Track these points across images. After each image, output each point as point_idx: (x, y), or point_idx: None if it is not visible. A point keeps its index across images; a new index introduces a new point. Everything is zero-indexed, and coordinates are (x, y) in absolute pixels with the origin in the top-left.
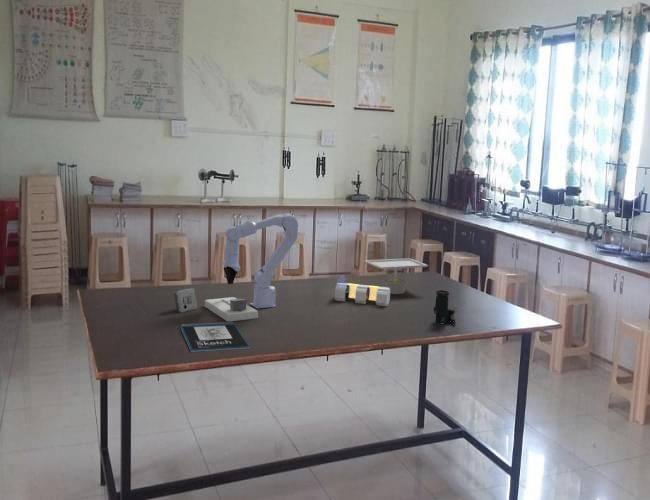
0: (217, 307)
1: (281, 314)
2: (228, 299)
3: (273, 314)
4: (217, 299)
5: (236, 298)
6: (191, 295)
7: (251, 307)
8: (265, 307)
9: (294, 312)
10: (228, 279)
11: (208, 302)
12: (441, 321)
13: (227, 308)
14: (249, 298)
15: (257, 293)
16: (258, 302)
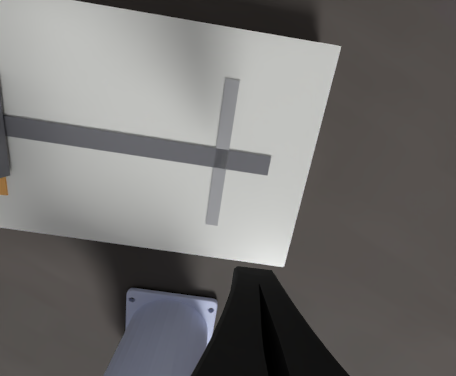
0: (89, 9)
1: (4, 320)
2: (252, 208)
3: (14, 294)
4: (293, 142)
5: (246, 261)
6: None
7: (17, 228)
8: (127, 322)
9: (20, 372)
10: (226, 306)
11: (266, 34)
12: None
13: (37, 70)
14: None
15: (123, 370)
16: (136, 320)
